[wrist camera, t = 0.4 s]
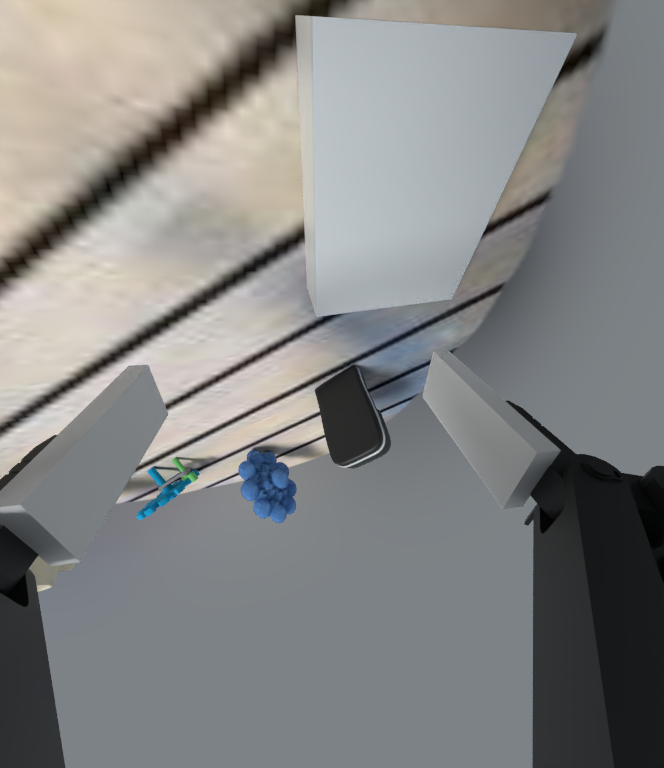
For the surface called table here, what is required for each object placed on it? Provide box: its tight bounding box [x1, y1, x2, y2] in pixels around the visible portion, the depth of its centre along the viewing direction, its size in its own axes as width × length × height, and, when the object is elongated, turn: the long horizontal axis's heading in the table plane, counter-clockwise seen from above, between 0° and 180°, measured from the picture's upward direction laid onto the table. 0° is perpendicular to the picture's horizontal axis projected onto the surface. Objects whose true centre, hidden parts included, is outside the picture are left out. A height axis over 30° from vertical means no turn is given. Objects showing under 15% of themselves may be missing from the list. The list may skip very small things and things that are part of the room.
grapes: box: [238, 450, 296, 523], centre depth 45 cm, size 12×7×12 cm, turn 39°
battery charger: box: [315, 366, 391, 468], centre depth 33 cm, size 7×4×11 cm, turn 125°
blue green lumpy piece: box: [136, 458, 199, 520], centre depth 43 cm, size 11×6×10 cm
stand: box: [295, 15, 578, 317], centre depth 18 cm, size 14×12×4 cm
